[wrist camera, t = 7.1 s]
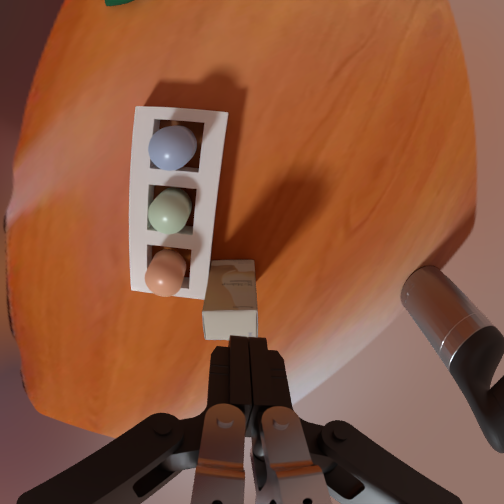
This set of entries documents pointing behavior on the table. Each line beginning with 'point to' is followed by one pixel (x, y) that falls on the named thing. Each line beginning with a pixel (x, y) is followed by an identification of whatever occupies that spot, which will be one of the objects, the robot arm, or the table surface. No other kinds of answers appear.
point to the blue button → (172, 147)
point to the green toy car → (116, 2)
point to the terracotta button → (165, 273)
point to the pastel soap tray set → (200, 178)
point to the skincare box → (230, 300)
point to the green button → (170, 210)
